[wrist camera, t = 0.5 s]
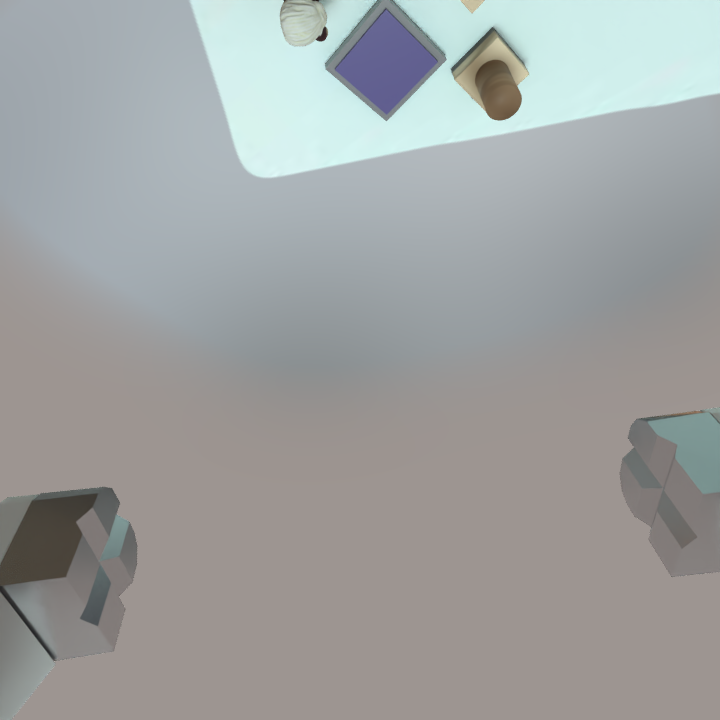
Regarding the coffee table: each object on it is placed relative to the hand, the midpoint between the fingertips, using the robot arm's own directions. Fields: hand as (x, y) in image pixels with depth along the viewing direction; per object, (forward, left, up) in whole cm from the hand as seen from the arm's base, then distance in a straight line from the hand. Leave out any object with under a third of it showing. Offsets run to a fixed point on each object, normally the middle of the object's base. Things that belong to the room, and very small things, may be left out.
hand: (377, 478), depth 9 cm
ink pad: (+9, +16, -51) cm, 54 cm away
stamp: (+3, +24, -51) cm, 56 cm away
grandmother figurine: (+8, +5, -51) cm, 52 cm away
